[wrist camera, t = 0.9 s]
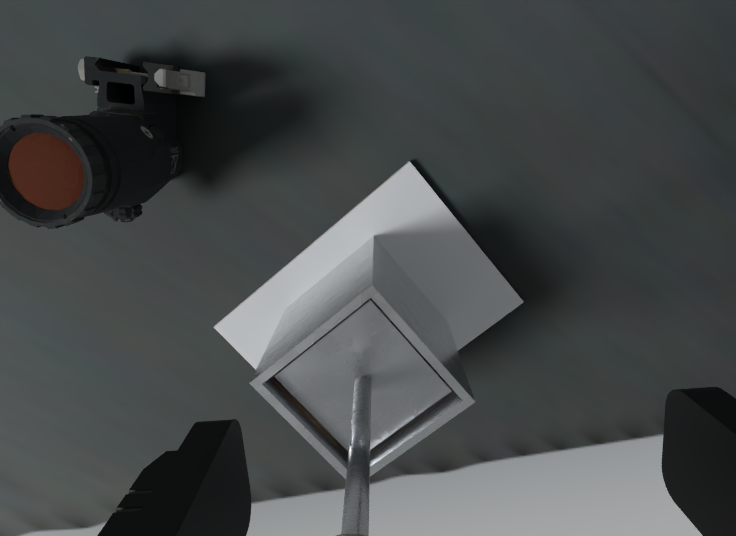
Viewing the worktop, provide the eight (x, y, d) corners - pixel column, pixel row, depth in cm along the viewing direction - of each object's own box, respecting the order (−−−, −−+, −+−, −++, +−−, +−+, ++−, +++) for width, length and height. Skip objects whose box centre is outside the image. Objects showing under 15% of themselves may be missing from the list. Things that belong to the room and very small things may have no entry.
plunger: (370, 296, 29) (362, 516, 13) (450, 385, 31) (530, 683, 15) (276, 371, 31) (163, 653, 14) (356, 453, 32) (335, 793, 16)
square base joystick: (373, 235, 39) (372, 285, 27) (447, 321, 41) (475, 401, 29) (285, 308, 41) (249, 383, 29) (360, 387, 42) (354, 487, 31)
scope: (123, 47, 23) (126, 262, 26) (216, 73, 36) (211, 213, 39) (-60, 25, 23) (-38, 243, 26) (100, 59, 36) (103, 200, 39)
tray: (409, 160, 38) (409, 161, 37) (521, 299, 41) (523, 302, 40) (215, 324, 42) (213, 327, 41) (330, 440, 45) (330, 444, 44)
